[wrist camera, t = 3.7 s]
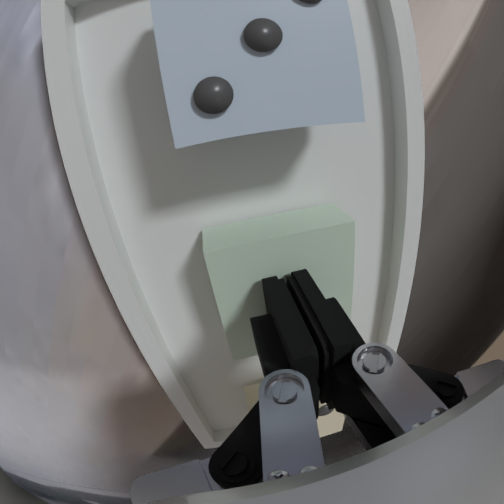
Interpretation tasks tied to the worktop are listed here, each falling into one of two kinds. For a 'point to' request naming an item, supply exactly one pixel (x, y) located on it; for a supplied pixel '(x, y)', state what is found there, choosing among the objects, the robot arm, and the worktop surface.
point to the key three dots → (255, 66)
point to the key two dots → (326, 418)
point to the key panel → (227, 190)
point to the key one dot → (277, 263)
